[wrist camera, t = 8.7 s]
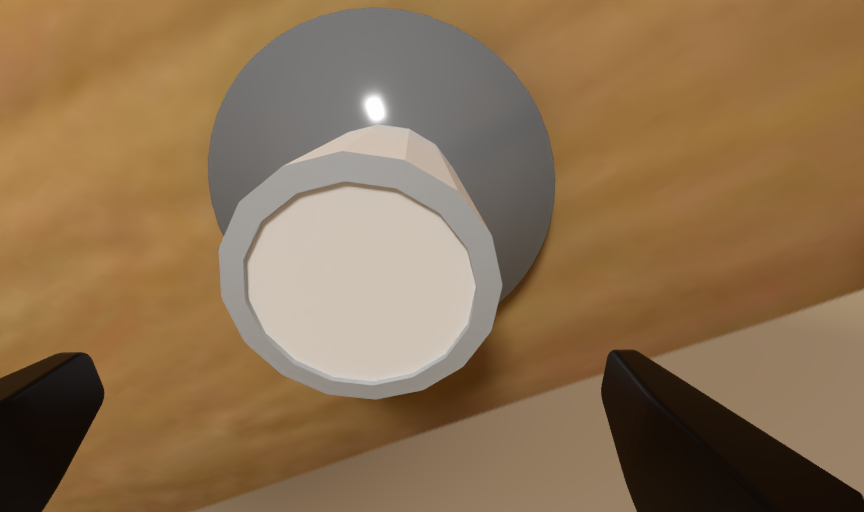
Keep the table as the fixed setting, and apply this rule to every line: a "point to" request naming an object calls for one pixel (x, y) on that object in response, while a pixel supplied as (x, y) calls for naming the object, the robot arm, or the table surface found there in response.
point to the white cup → (362, 267)
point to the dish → (392, 116)
